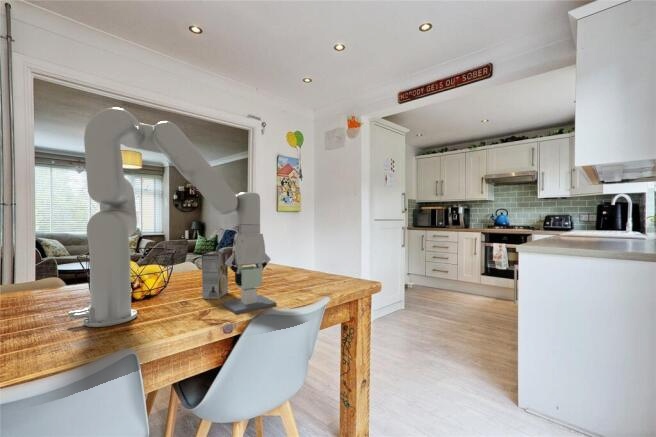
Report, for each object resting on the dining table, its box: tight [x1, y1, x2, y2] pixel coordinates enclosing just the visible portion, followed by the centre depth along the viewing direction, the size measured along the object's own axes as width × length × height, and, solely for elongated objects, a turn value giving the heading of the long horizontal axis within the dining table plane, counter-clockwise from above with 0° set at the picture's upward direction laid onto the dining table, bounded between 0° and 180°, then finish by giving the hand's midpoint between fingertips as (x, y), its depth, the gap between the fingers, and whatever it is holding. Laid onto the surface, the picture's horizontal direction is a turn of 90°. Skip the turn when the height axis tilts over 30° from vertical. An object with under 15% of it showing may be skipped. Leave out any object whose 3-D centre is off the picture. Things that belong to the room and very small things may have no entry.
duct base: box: [221, 287, 277, 315], centre depth 101 cm, size 14×12×6 cm
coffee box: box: [201, 250, 229, 300], centre depth 113 cm, size 9×6×16 cm
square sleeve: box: [235, 265, 263, 289], centre depth 101 cm, size 6×6×6 cm
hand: (248, 283), depth 101 cm, fingers closed on square sleeve, 6 cm apart
